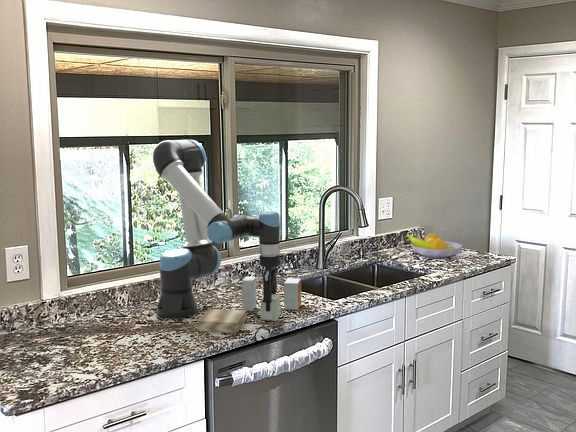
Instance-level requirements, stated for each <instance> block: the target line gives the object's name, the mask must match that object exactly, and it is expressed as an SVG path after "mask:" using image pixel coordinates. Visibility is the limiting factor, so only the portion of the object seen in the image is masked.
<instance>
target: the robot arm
mask: <svg viewBox="0 0 576 432" xmlns="http://www.w3.org/2000/svg"><path fill="white" fill-rule="evenodd" d="M206 161H207V153H206V151H205V149H204V146H203V145H202V144H201V143H199V142H198V141H197V140H194V139H174V140H172V139H171V140H169V139H168V140H163V141H161V142H159V143H157V145H156V146H155V147H154V149H153V150H152V154H151V162H152V166H153V168H154V169H155V171H156V173H157V174H158V176H159V177H160V178H161V179H162V180H163V181H168V183H169V185H171V187H173V189H174V190H175V191H176V192H177V193H178V196H179V202H180V203H179V204H180V208H181V216H182V222H183V223H182V224H183V230H184V237H185V242H184V243H183V244H182V248H181V247H179V248H175V249H174V248H172V249H169V250H166V251H164V252H163V253H161V255H160V256H159V257H160V258H159V275H160V296H159V298H158V302H157V307H156V314H157V315H158V316H160V317H161V318H167V319H168V318H169V319H179V318H187V317H191V316H194V315H195V314H197V313H198V303H197V300H196V297H195V295H194V292H193V281H197V280H200V279H203V278H207V277H209V276H211V275H213V274H215V273H216V272H217V271H219V270H218V269H219V268H220V267H221V261H222V257H221V253H220V250H218V247H216V246H214V244H213V243H216V244H221V243H223V244H224V243H228V242H230V241H234V240H238V239H242V238H246V237H252V238H258V248H259V249H258V251H259V252H258V253H259V258H258V259H259V260H258V261H259V266H261V267H263V268H264V270H263V275H262V281H263V283H262V284H263V285H262V286H263V288H262V289H263V294H262V296H263V301H262V302H265V319H266V320H265V321H273V320H272V319H273V314H272V294H278V290H277V289H278V285H277V283H278V281H277V280H278V279H277V270H278V268H277V267H279V266H280V265H281V249H282V245H281V239H280V238H281V236H280V235H281V222H280V221H281V220H280V219H281V217H280V213H278V212H277V211H268V210H267V211H265V210H264V211H260V212H259V213H258V216H253V215H247V214H235V215H233V216H232V218H229V217H228V216H227V215H226V214H225V213H224V212H223V210H222V209H221V208H220V207H219V206H218V205H217V204H216V202H215V201H214V200H213V199H212V198H211V197H210V196H209V195H208V193H207V192H205V190H204V188H203V187H202V186H201V182H200V176H201V175H202V174H203V167H204V166H205V163H206Z"/></svg>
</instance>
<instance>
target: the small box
mask: <svg viewBox="0 0 576 432" xmlns="http://www.w3.org/2000/svg"><path fill="white" fill-rule="evenodd" d="M301 305H302V278H292V277H288V278H287V279H286V280H285V281H284V282H283V309H284V310H287V311H289V310H291V311H292V310H293V311H298V310H299V308H300V307H301Z"/></svg>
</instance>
